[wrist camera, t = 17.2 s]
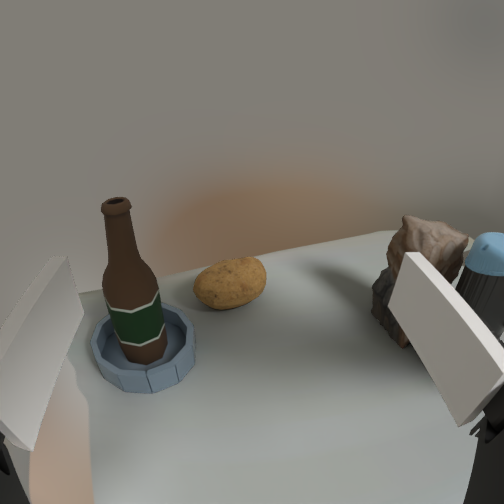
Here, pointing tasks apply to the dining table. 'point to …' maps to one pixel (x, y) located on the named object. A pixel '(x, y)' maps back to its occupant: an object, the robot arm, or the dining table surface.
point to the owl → (432, 248)
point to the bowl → (152, 375)
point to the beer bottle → (131, 289)
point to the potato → (230, 283)
